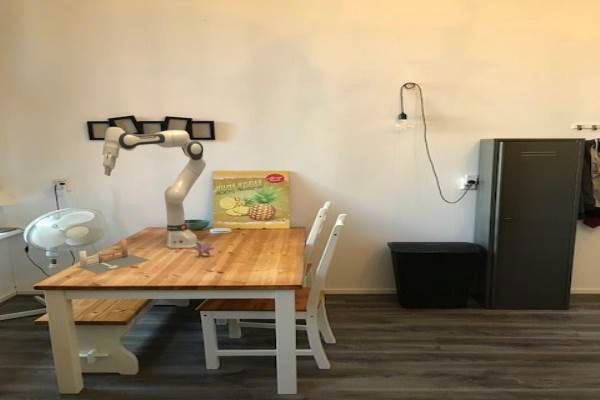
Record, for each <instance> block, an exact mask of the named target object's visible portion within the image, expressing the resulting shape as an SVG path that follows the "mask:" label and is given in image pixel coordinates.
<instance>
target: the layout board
mask: <svg viewBox="0 0 600 400" xmlns="http://www.w3.org/2000/svg"><path fill="white" fill-rule="evenodd" d="M102 261H103V260H102ZM147 262H150V259H148V258H146V257H145V258H144V257H141V256H137V255H135V254H132V253H131V254H128V256H126V257H118V258H115V259H109V260H105V261H103V263H99V262H97V263H92V264H88V265H87V267H83V268H81V265H80V266H78V267H79V268H81V269H83V270H85V271H88V272H91V273H94V274H95V275H99V274H104V273H108V272H111V271H115V270H119V269H121V268H122V269H123V268H126V267H130V266H135V265H138V264H142V263H147Z"/></svg>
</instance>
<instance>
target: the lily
mask: <svg viewBox="0 0 600 400" xmlns="http://www.w3.org/2000/svg"><path fill="white" fill-rule="evenodd" d="M199 242H200V241H199ZM199 242H196V241H195V243H196V245H197V246H196V247H193V248H192V250H194V251H198V255H199V256H201V259H203V254H206V255H208V256H211V253H210V251H212V250H215V247H214V246H210V245H209V246H208V242H205V243H202V242H201V243H199Z"/></svg>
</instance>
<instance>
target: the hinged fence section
mask: <svg viewBox="0 0 600 400" xmlns="http://www.w3.org/2000/svg"><path fill="white" fill-rule="evenodd" d="M119 253H121V254H119ZM128 253H129V252H128V242H127V238H122V239H120V250H119V249H118V250H114V251H110V252H106V253H101V254H102V261H105V260H109V259H115V258H118V257H126V256H128V255H129V254H128ZM110 255H112V256H110ZM106 256H108V257H106ZM103 257H104V258H103Z"/></svg>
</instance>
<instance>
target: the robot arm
mask: <svg viewBox="0 0 600 400" xmlns="http://www.w3.org/2000/svg"><path fill="white" fill-rule="evenodd" d="M145 145H157V146H159V147H161V148H165V149H170V148H171V149H172V148H181V149H182V151H183V153H184V156H186V157H188V158H189V161H188V163H186V165H185V166H184V168H183V169H182V170H181V172H180V173H179V174H178V176H177V178H176V179H175V181H174V183H173V184H172V186H168V187H167V188H166V189H165V190H164V203H165V210H166V221H167V224H166V230H167V240H166V247H168V248H169V249H187V248H188V249H191V248H192V249H193V248H196V247H197V245H196V243H195V241H196V242H199V243H201V244H202V242H201V241H198V237H197V235H196V234H195V233H193V232H192V231H191V230H190V229H188V227H189V224H186V221H185V220H186V219H185V218H186V217H185V209H184V204H183V202H184V201H185V199H186V198H187V196H188V194H189V193H190V191H191V188H192V187H193V186H194V184H195V183H196V182H197V180H198V179H199V177H200V176H201V175H202V173H203V172H204V170H205V167H206V161H205V160H204V159H203V157H204V146H203V144H202V143H201V142H200V141H198V140H191V138H190V134H189V133H188V131H186V130H181V129H180V130H178V129H173V130H163V131H159V132H155V133H147V134H146V133H143V134H136V133H133V132H130V131H125V130H124V129H123V128H121V127H118V126H110V127H107V129H106V132H105V135H104V145H103V149H102V155H104V158H103V163H102V167H104V175H105V176H108V177H110V176H111V174H112V170H114V169H115V167H116V163H117V159H118V158H119V155H120V149H122V150H124V151H127V152H131V151H133V150H135V149H136V148H137V147H138V146H145Z"/></svg>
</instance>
